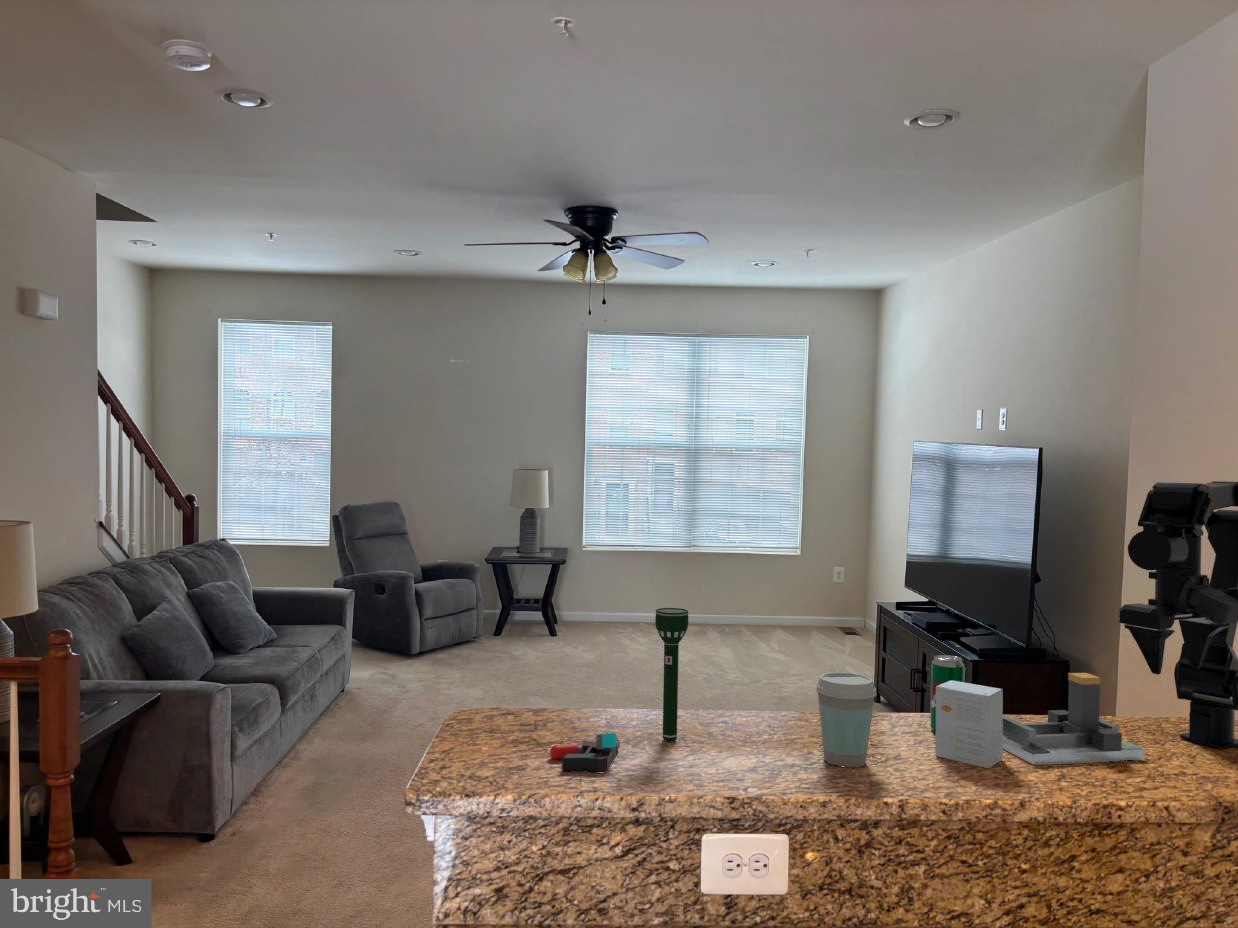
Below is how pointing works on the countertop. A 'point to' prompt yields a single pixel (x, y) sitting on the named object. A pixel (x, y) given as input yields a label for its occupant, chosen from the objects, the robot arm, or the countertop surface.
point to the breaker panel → (1066, 742)
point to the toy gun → (588, 754)
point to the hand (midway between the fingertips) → (1176, 671)
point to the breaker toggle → (1082, 703)
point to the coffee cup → (845, 717)
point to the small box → (969, 723)
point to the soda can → (944, 678)
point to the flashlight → (671, 663)
